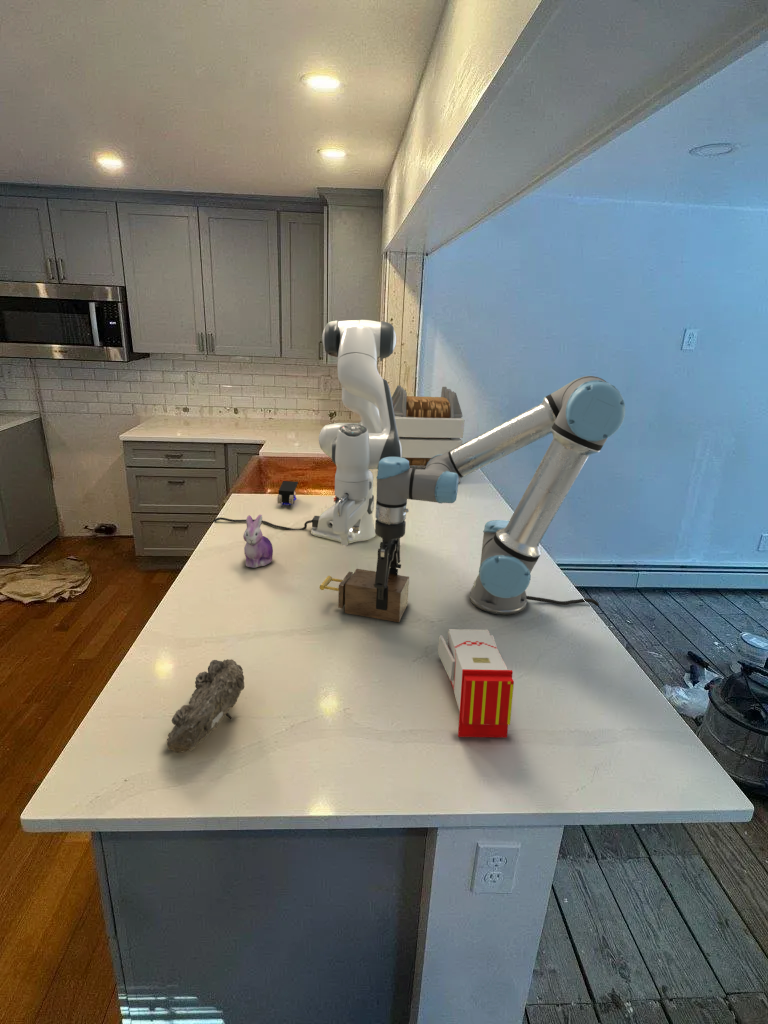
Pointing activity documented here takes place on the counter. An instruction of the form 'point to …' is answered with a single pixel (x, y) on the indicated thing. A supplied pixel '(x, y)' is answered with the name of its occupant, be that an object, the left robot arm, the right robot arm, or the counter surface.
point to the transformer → (427, 425)
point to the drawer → (341, 588)
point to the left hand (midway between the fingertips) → (350, 538)
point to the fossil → (206, 705)
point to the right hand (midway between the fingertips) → (386, 599)
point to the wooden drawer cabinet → (364, 596)
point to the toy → (478, 682)
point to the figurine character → (287, 493)
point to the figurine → (256, 544)
